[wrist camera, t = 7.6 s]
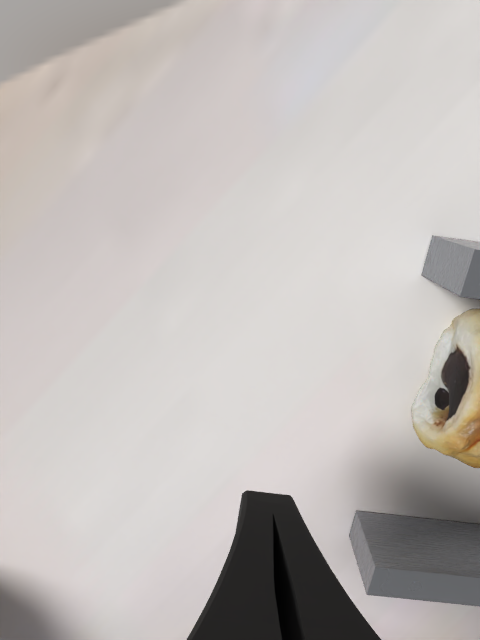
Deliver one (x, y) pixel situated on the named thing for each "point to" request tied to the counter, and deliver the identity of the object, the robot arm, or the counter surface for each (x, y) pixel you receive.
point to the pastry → (453, 393)
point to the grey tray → (420, 533)
